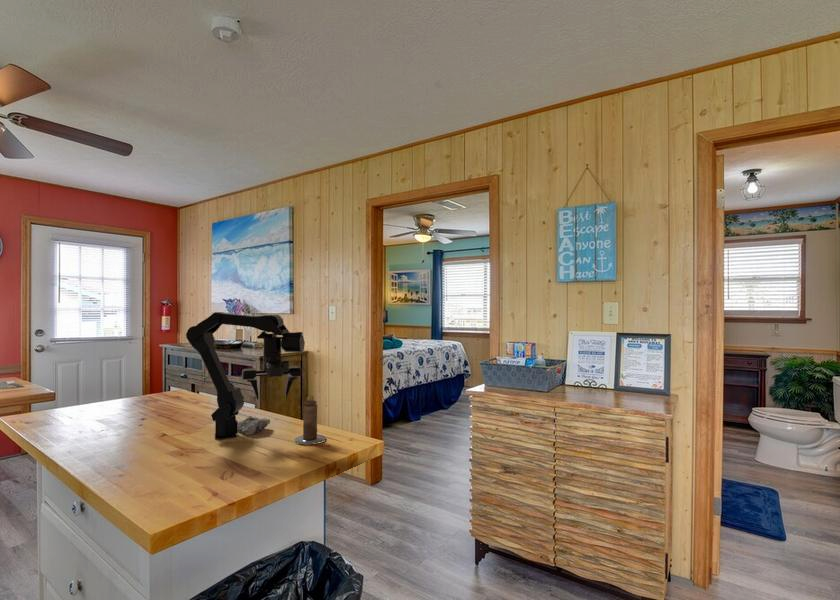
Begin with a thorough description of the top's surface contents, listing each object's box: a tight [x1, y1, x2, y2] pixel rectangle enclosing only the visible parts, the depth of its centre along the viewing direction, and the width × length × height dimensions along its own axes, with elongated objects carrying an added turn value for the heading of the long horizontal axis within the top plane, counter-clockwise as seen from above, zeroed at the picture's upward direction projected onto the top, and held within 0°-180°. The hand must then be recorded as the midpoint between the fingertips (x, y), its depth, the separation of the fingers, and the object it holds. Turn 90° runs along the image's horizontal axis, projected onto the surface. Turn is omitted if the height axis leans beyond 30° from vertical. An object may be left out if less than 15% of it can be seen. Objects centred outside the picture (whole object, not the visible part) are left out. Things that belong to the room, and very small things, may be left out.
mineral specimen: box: [238, 415, 271, 436], centre depth 157 cm, size 6×11×12 cm
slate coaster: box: [293, 433, 327, 444], centre depth 146 cm, size 10×10×1 cm
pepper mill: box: [302, 394, 318, 441], centre depth 146 cm, size 4×4×14 cm
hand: (271, 398), depth 150 cm, fingers open, 9 cm apart
